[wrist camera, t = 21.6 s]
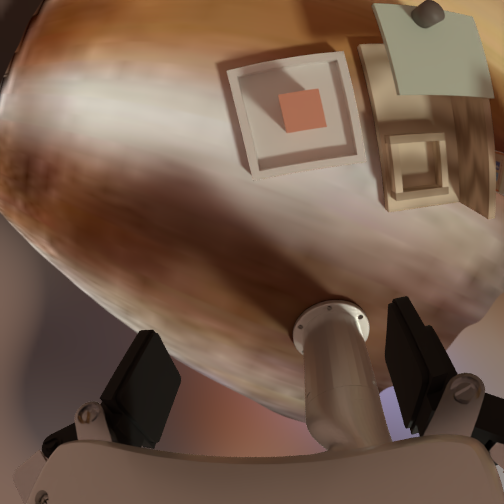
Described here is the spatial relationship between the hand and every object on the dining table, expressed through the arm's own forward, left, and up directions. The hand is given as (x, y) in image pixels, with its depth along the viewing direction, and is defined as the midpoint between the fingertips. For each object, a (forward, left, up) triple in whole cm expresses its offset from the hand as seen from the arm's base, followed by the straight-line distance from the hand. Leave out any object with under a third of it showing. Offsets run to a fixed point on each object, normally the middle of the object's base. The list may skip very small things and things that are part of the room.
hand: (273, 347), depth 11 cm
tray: (+9, -4, -28) cm, 30 cm away
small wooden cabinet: (+6, -20, -28) cm, 35 cm away
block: (+9, -4, -28) cm, 29 cm away
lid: (+14, -20, -19) cm, 31 cm away
